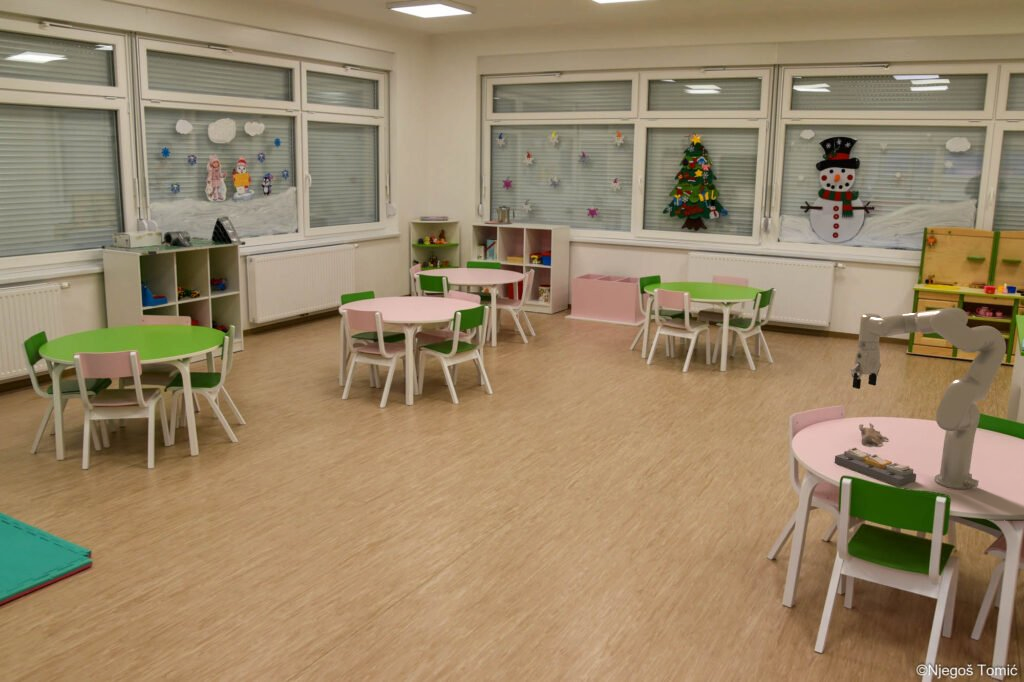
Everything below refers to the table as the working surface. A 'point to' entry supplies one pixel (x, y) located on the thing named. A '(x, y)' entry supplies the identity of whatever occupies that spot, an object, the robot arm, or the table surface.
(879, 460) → the rocker middle
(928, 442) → the table surface
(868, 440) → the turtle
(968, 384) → the robot arm
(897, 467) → the rocker
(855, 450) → the rocker
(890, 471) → the rocker switch panel
